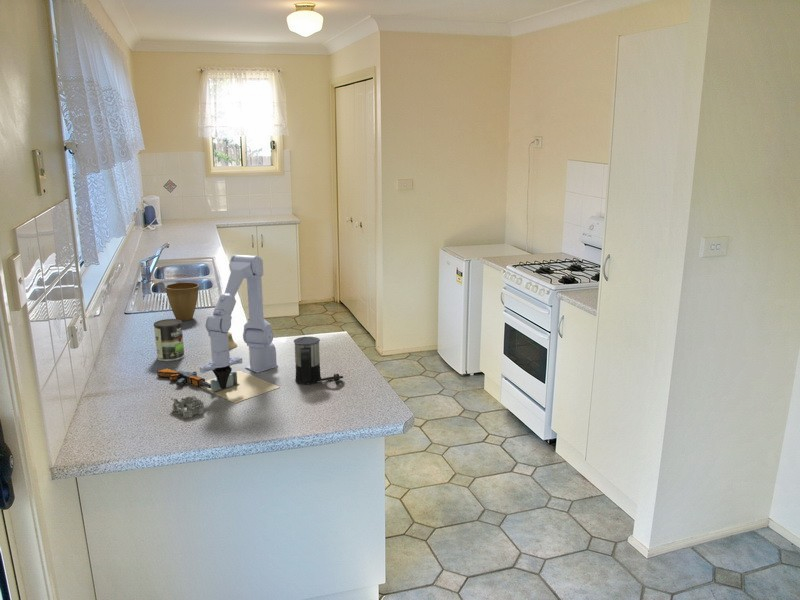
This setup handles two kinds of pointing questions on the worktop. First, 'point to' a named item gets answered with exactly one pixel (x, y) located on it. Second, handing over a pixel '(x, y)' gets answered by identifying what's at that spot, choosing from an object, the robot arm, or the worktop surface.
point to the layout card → (243, 388)
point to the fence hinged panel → (216, 386)
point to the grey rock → (188, 406)
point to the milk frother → (309, 361)
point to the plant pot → (183, 299)
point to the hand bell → (231, 341)
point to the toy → (183, 377)
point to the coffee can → (169, 339)
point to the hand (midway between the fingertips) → (223, 387)
